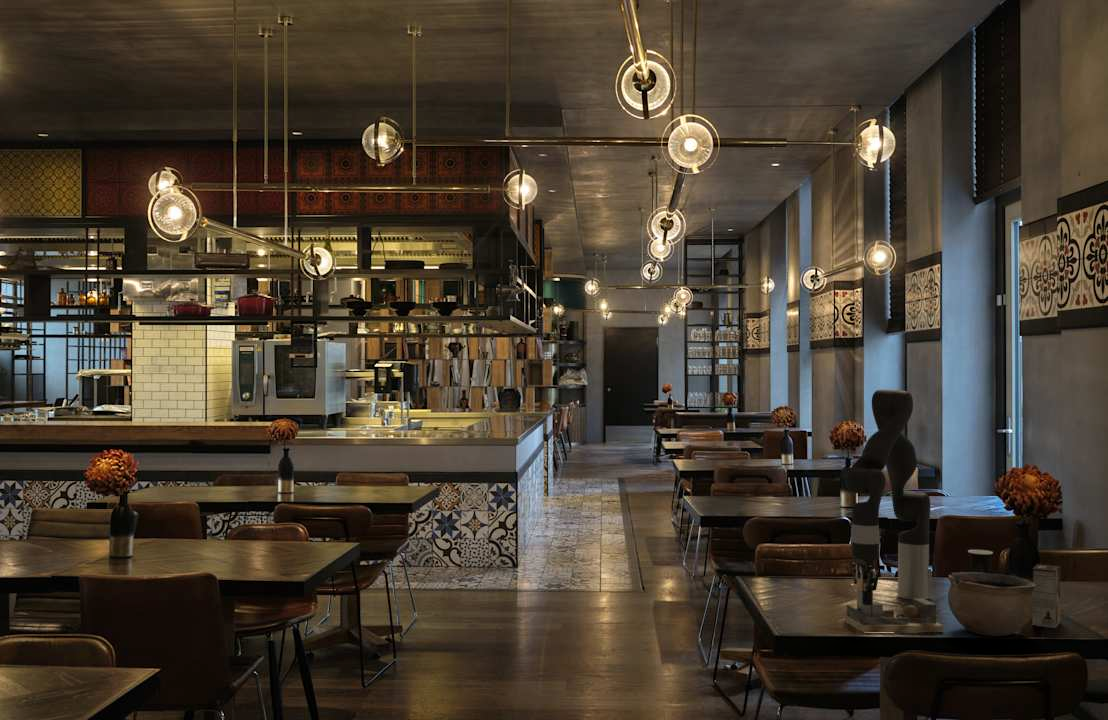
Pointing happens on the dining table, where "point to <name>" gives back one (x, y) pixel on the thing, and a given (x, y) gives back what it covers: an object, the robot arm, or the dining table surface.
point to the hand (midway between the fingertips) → (864, 603)
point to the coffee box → (1046, 595)
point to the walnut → (910, 611)
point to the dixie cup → (980, 560)
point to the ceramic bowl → (990, 602)
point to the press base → (897, 620)
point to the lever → (869, 610)
